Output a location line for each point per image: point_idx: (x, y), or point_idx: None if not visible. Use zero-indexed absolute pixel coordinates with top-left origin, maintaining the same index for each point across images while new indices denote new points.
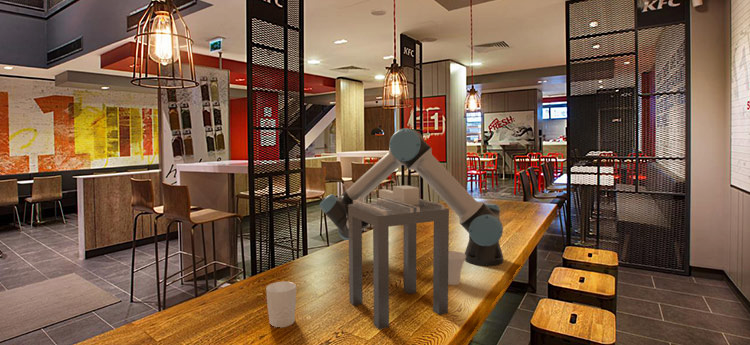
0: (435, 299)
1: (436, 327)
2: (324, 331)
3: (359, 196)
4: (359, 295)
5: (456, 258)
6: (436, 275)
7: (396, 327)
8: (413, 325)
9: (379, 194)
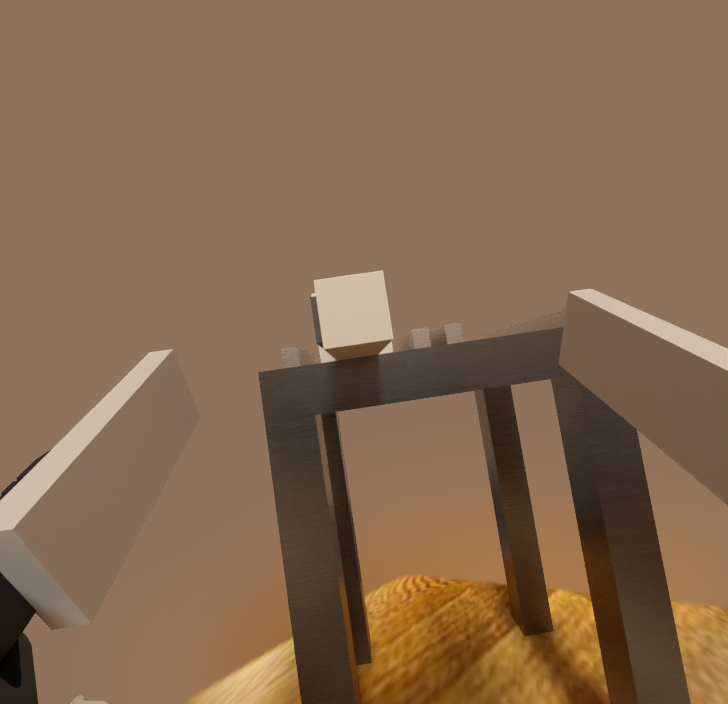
0: (365, 616)
1: (406, 601)
2: (697, 626)
3: (594, 290)
4: None
5: (102, 701)
6: (355, 544)
7: (494, 613)
8: (452, 614)
9: (388, 315)
